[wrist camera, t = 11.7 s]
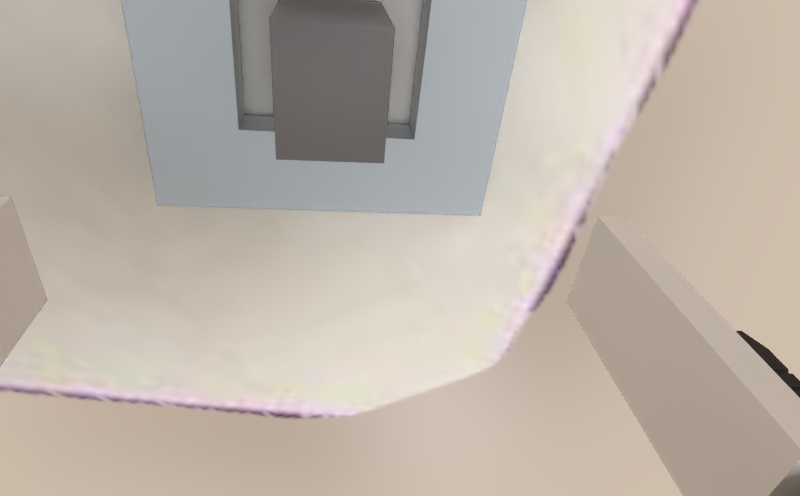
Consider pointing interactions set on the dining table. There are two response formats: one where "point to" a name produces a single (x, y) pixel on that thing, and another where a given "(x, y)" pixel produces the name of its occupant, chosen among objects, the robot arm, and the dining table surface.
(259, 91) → the dining table surface
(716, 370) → the robot arm
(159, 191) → the socket plate
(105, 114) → the dining table surface
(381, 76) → the plug
